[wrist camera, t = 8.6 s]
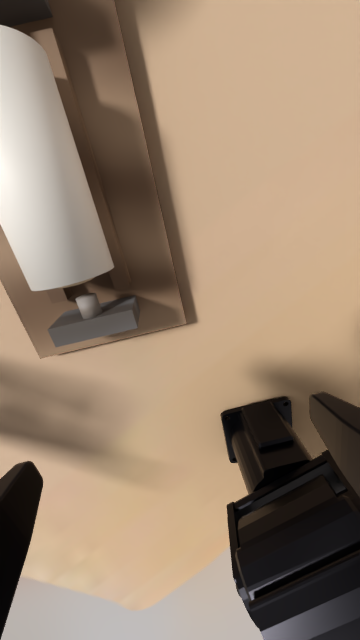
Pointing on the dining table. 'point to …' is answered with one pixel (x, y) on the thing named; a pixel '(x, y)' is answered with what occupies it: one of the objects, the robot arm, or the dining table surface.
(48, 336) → the cradle
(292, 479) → the robot arm
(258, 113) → the dining table surface
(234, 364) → the dining table surface
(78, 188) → the roll
